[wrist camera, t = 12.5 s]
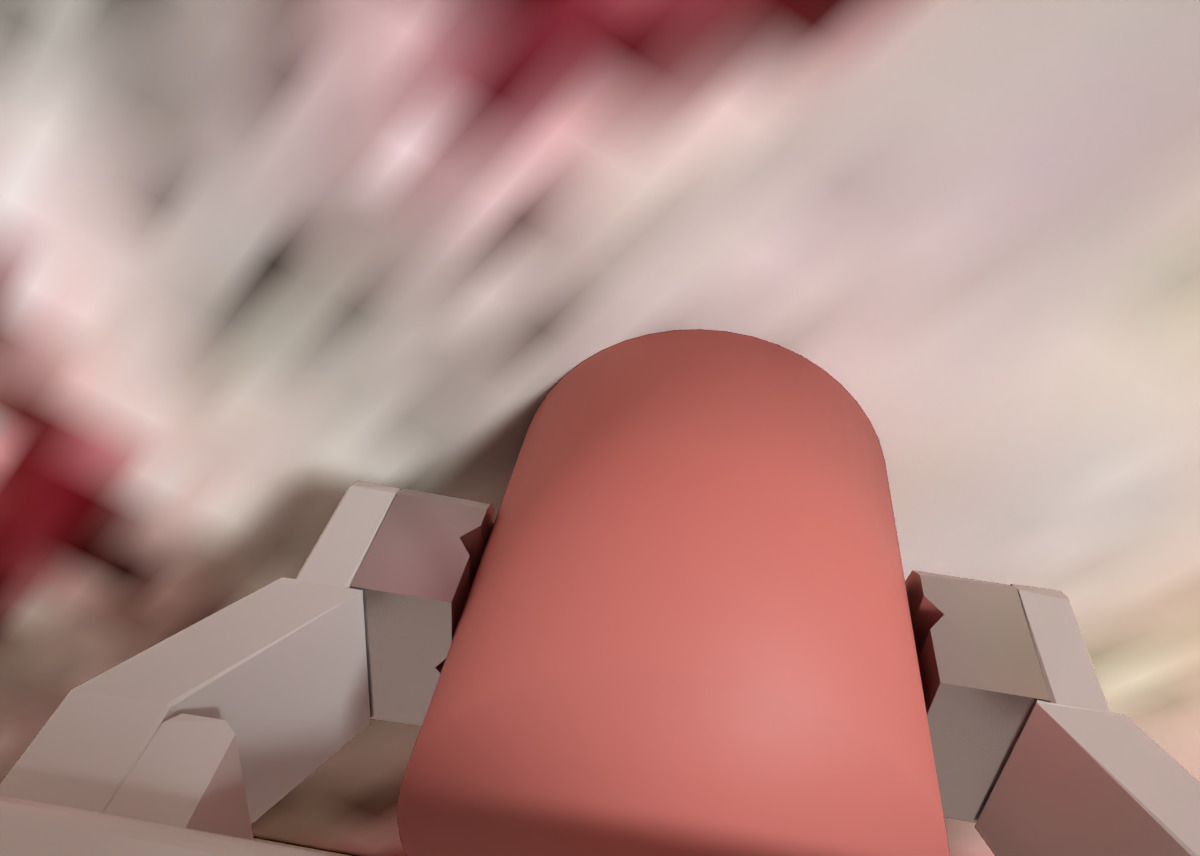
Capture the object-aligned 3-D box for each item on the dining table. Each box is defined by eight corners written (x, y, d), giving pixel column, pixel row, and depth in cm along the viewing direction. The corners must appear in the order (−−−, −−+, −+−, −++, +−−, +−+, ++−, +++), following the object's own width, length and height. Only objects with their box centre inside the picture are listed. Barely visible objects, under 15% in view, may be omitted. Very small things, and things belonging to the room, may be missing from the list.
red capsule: (514, 594, 14) (404, 959, 9) (529, 303, 11) (388, 625, 7) (840, 646, 13) (874, 1047, 9) (931, 360, 11) (1031, 731, 7)
